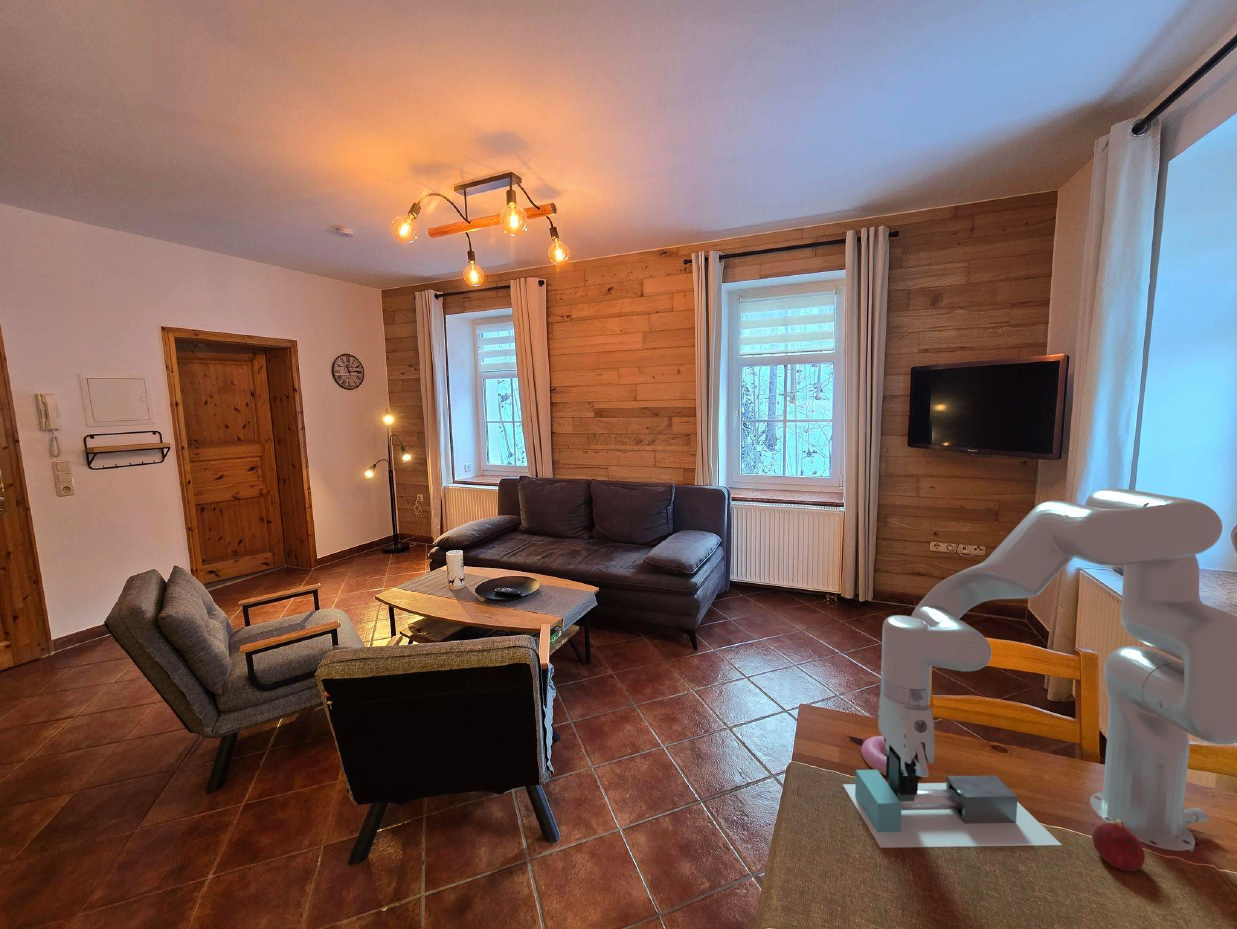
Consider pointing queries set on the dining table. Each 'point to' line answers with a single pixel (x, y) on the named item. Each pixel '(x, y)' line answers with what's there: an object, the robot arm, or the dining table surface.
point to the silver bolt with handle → (922, 792)
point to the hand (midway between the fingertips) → (901, 784)
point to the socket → (878, 801)
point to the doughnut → (875, 753)
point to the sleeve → (984, 799)
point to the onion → (1118, 846)
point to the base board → (956, 828)
